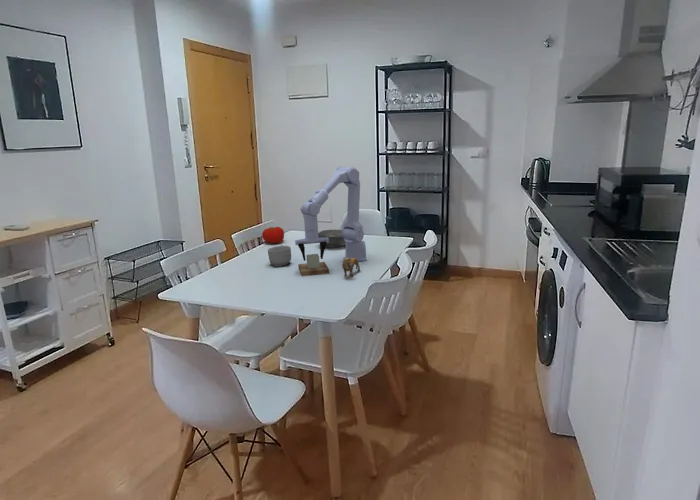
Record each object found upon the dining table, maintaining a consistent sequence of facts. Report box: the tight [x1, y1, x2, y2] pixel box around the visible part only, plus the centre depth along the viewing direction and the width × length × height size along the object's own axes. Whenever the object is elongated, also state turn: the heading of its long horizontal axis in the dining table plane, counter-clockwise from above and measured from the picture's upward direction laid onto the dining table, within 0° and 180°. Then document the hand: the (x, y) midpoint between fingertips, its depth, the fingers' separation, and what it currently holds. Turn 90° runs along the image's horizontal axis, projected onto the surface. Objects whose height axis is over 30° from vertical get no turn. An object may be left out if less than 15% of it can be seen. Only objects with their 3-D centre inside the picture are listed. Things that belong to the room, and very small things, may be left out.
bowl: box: [318, 229, 345, 248], centre depth 246 cm, size 18×18×8 cm
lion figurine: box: [341, 258, 361, 278], centre depth 197 cm, size 15×5×9 cm, turn 164°
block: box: [305, 253, 320, 268], centre depth 204 cm, size 5×5×5 cm
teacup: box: [267, 244, 292, 267], centre depth 217 cm, size 14×11×8 cm
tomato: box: [261, 226, 285, 244], centre depth 258 cm, size 14×13×9 cm
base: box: [298, 261, 330, 277], centre depth 204 cm, size 12×12×2 cm
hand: (313, 259), depth 203 cm, fingers open, 7 cm apart
